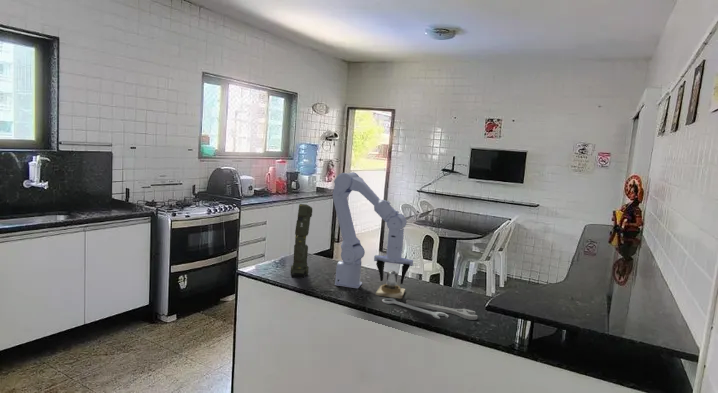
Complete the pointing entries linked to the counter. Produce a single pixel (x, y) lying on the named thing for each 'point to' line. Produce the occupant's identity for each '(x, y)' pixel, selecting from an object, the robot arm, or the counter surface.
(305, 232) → the mechanical leg
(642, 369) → the counter surface
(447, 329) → the counter surface
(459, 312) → the adjustable wrench
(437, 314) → the wrench
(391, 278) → the clear glass cylinder
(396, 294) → the socket
